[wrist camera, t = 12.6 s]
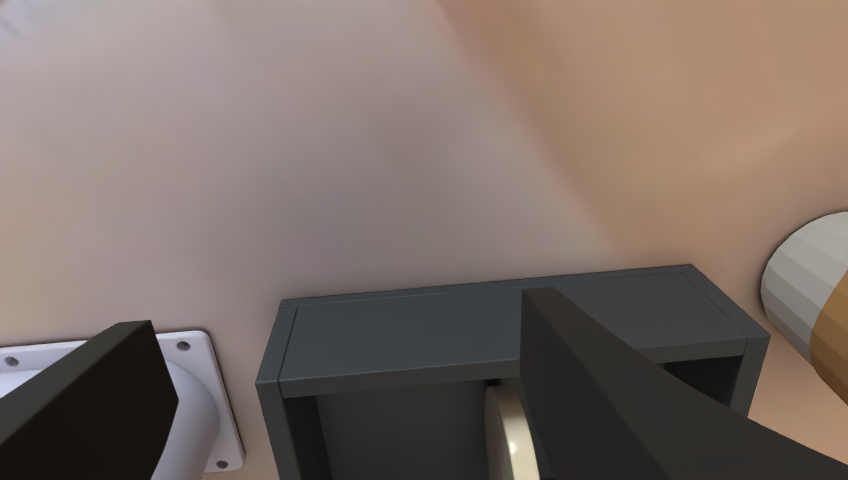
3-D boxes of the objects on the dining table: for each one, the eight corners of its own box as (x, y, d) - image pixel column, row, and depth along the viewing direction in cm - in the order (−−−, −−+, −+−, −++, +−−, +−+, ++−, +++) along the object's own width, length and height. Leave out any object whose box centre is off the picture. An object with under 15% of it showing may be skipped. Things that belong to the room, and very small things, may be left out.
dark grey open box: (324, 502, 27) (312, 606, 23) (281, 299, 22) (253, 383, 17) (652, 468, 28) (705, 563, 23) (692, 263, 22) (771, 335, 18)
